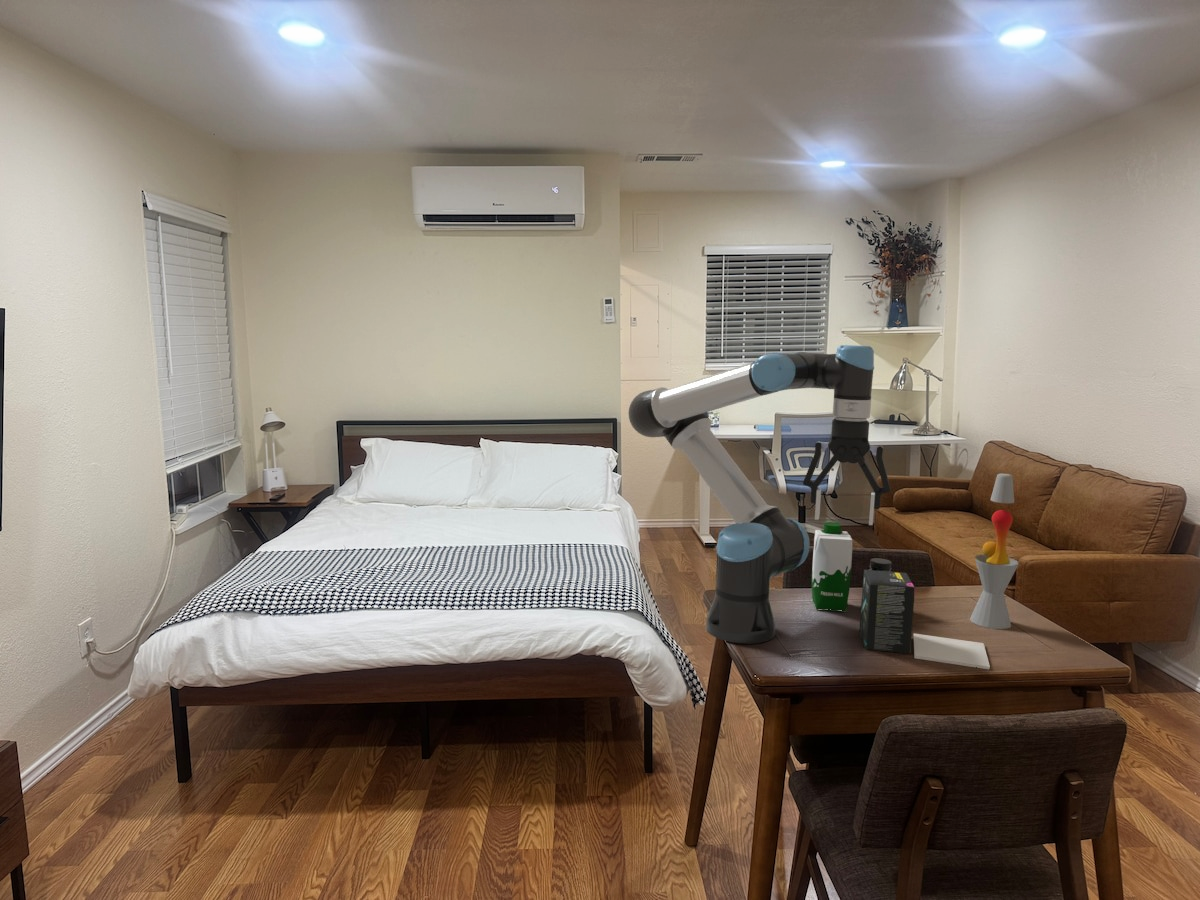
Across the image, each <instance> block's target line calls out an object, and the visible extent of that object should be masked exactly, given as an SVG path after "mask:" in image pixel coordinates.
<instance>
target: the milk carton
mask: <svg viewBox="0 0 1200 900" xmlns="http://www.w3.org/2000/svg"><path fill="white" fill-rule="evenodd" d="M812 552H813V553H812V564H811V565H812V570H811V598H812V599H813V600H812V602H814V603H813V605H814V604H815V605H814V607H815V610H816V609H828V610H830V609H831V610H842V611H846V612H847V609H848V608H847V607H848V602H849V593H850V588H851V587H850V586H851V576H852V575H851V574H852V573H851V572H852V563H853V562H852V560H853V539H852V536H851V535H850V534H849V533H848V531H842V524H840V523H838V522H833V521H830V522H829V521H827V522H824V523H823V529H815V530H814V538H813V551H812ZM842 611H841V612H842Z"/></svg>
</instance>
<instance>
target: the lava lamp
mask: <svg viewBox="0 0 1200 900" xmlns="http://www.w3.org/2000/svg"><path fill="white" fill-rule="evenodd" d="M1014 490H1015V489H1014V478H1013V475H1012V474H1009V473H998V474H997V475H996V478H995V482H994V485H993V490H992V493H991V497H990V501H991V502H994V503H1000V504H1014V503H1015V493H1014ZM1013 520H1014V519H1013V515H1012V514H1011V512H1010V511H1008V510H1005V509H999V510H995V512H993V514H992V515H991V522H992V525H993V529H994V530H995V531H994V532H995V537H996V542H995V541H990V540H989V541H987V542H985V543H984V544H983V545H982V552H983V554H978V555H975V556H974V559H975V565H976V567H977V571H978V575H979V578H980V583H981V586H982V592H981V594H980V596H979V598H978V600H977V603H976V604H975V606H974V609H973V610H972V613H971V616H970V617H969V620H970V622H972V623H973V624H975V625H977V626H979V627H983V628H987V629H992V630H993V629H994V630H1006V629H1010V628H1011V627H1012V624H1011V623H1012V622H1011V620H1010V615H1009V610H1008V606H1007V602H1006V598H1005V592H1006V589H1007V587H1008V585H1009V583H1010V581H1011V579H1012V578H1013V576H1014V574H1015V572H1016V570H1017V569H1018V566H1019V561H1017V560H1016V559H1013V558H1012V557H1009V556H1008V552H1007V537H1008V535H1009V534H1008V533H1009V531H1010V528H1011V526H1012V525H1013V522H1014V521H1013Z"/></svg>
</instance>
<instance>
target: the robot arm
mask: <svg viewBox="0 0 1200 900" xmlns="http://www.w3.org/2000/svg"><path fill="white" fill-rule="evenodd" d="M874 351H875V350H874V349H873V347H871V346H870V345H851V344H850V345H848V344H845V345H843V344H841V345H839V346H837V349H836V352H835V353H831V354H830V353H829V354H828V353H814V352H803V351H802V352H801V351H799V352H790V353H781V352H780V353H779V352H773V353H768V354H763V355H761V356H759V357H758V358H757V359H756V360H755V361H751V362H748V363H745V364H742V365H739V366H736V367H733V368H730V369H726V370H723V371H720V372H718V373H714V374H711V375H709V376H706V377H702V378H700V379H699V378H698V379H696V380H694V381H690V382H687V383H683V384H682V385H678V386H675V387H672V388H667V387H658V388H655V389H649V390H646V391H642V392H639V393H638V394H637V395H636V396H635V397H634V398H633V399H632V401H631V402H630V404H629V408H628V419H629V423H630V424H631V427H632V428H633V429H634V430H635V431H636V433H638V434H640V435H641V436H644V437H646V438H647V437H648V438H662V437H664V438H665V439H666V441H667V442H668V443H669V445H670V446H671V447H672V448H673V449H674V450H677V451H682V452H683V454H684V455H685V456H686V458H687V459H688V460H689V462H690V463H691V465H692V466H693V467H694V468H695V470H696V471H697V474H699V475H700V477H701V478H702V480H704V482H705V483H706V485H707V486H708V488H709V489H710V490H711V491H712V493H713V494H714V496H715V497H716V499H718V501H719V503H720V504H721V505H722V507H723V508H724V509H725V510H726V512H727V514H728V515H729V516H730V518H731V519H732V520H733V521H734V523H733V524H729V525H727V526H725V527H723V528H722V529H721V530H720V532H719V533H718V536H717V537H718V539H717V544H716V569H715V570H716V571H715V574H716V575H715V592H714V593H715V595H714V598H713V601H712V603H711V606H710V608H709V611H708V614H707V616H706V619H705V621H706V623H705V630H706V632H707V633H708V634H709V635H710V636H712V637H714V638H716V639H719V640H722V641H725V642H730V643H734V644H746V645H747V644H751V645H752V644H761V643H765V642H768V641H771V640H773V638H774V637H775V635H776V622H775V617H774V614H773V611H772V606H771V602H770V583H771V582H770V581H771V579H772V578H774V577H777V576H780V575H782V574H785V573H789V572H792V571H794V570H795V569H796V568H798V567H799V566H801V565H802V564H804V562H805V561H806V559H807V557H808V556H809V552H810V536H809V534H808V532H807V530H806V528H805V527H804V525H802V523H800V522H799V521H797V520H796V519H791V518H789V517H785V515H784V514H783V512H782V511H781V510H780V508H779V507H778V506H775V505H769V504H767V502H766V501H765V500H764V499H763V497H762V496H761V495H760V492H758V490H757V489H756V488H755V487H754V486H753V484H752V482H751V481H750V480H749V479H748V477H747V476H746V475H745V473H744V472H743V471H742V469H741V468H740V467H739V466H738V464H737V463H736V462H735V461H734V459H733V458H732V457H731V455H730V454H729V453H728V451H727V450H726V448H725V447H724V446H723V444H722V443H721V442H720V441H719V440H718V438H717V437H716V435H715V434H714V432H712V430H711V426H712V420H711V419H710V418H709V412H711V411H715V410H719V409H722V408H726V407H728V406H733V405H735V404H738V403H742V402H746V401H750V400H752V399H755V398H759V397H762V396H767V395H771V394H773V393H775V394H776V393H778V392H781V391H785V390H799V389H824V390H825V389H828V390H833V406H832V416H833V417H834V418H833V420H832V421H831V436H830V440H829V441H828V442H827V441H826V442H824V441H820V440H818V441H816V442H815V443H814V444H815V445H814V455H813V457H812V459H811V462H810V464H809V467H808V469H807V472H806V475H805V477H804V480H803V483H802V484H803V486H806V487H809V488H810V492H811V493H810V503H811V504H815V509H814V510H815V512H814V520H815V521H816V520H817V521H819V520H820V514H821V513H820V512H821V498H822V488H821V487H819V486H820V485H821V483H822V482H823V480H824V479H825V478H826V476H827V475H828V474H829V472H830V471H831V470H832V468H833V467H834V466H835V465H836V463H837V462H839V463H850V464H858V465H859V467H860V468H861V470H862V472H863V474H864V475H865V478H866V479H867V481H868V483H869V485H870V486H871V488H872V490H873V492H871V494H870V503H869V504H870V507H869V517H868V526H873V525H874V524H873V523H874V512H875V510H878V511H879V510H880V508H881V497H882V495H883V494H886V493H887V494H889V493H890V492H891V485H890V481H889V476H888V473H887V469H886V465H885V462H884V458H883V452H884V446H883V445H882V444H880V445H872V444H870V443H869V433H870V432H869V431H870V422H869V420H867V419H869V418H870V417H871V406H872V390H873V389H872V388H873V380H874V379H873V378H874V370H875V363H874V362H875V361H874V360H875V358H874V357H875V354H874ZM826 449H829V451H830V452H831V454H832V457H831V458H830V460H829V461H828V462H827V464H826V465H825V466H824V468H823V469H822V470H821V472H820V473H819V474H818V476H817V477H816V479H815V480H812V478H813V475H814V473H815V470H816V468H817V465H818V463H819V460H820V458H821V455H822V453H824V452H825V451H826ZM870 451H871V453H872V455H873V456H874V457H875V459H876V464H877V467H878V473H879V476H880V479H881V483H882V484H881V485H882V486H880V485H879V482H877V480H876V479H877V478H875V476H874V474H873V472H872V470H871V469H870V466H869V465H868V464H867V461H866V459H865V456H866V454H867V453H868V452H870Z"/></svg>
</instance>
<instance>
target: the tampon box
mask: <svg viewBox="0 0 1200 900" xmlns="http://www.w3.org/2000/svg"><path fill="white" fill-rule="evenodd" d="M862 578H863V579H862V589H861V590H862V592H861V603H860V604H861V605H860V617H859V626H858V627H859V629H858V633H859V635H860V638H861V640H862V641H861V642H862V643H863V646H864V648H865V650H870V651H872V650H875V651H881V652H890V653H891V652H892V653H898V654H899V653H901V654H902V653H903V654H911V653H912V652H911V651H912V650H911V649H912V636H913V634H912V633H913V621H914V620H913V619H914V608H915V607H914V605H915V593H916V592H915V591H916V590H915V589H916V588H915V586H914V584H913V583H912V580H911V579H910V577H909V575H908V574H907V572H900V571H899V572H897V571H890V572H889V571H874V570H869V569H867V568H866V569H863V577H862Z"/></svg>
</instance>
